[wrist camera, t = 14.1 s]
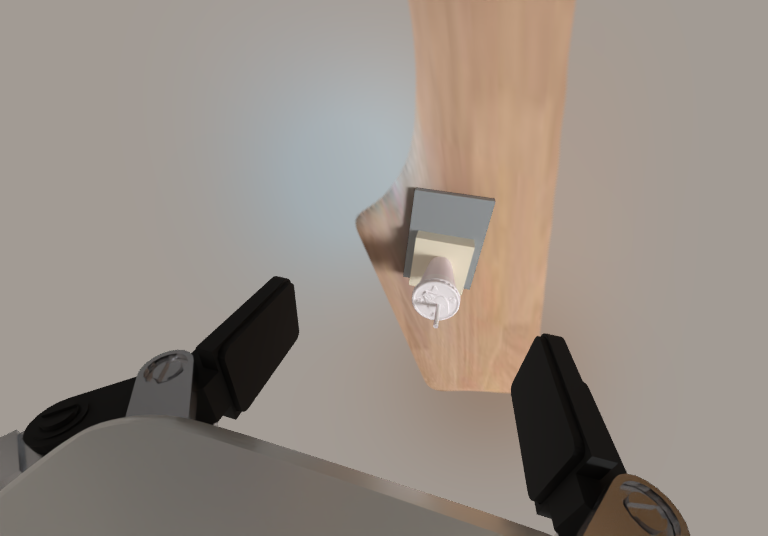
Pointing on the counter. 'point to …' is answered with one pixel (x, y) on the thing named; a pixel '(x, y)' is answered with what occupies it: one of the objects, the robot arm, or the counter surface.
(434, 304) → the smoothie
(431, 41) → the counter surface
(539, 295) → the counter surface
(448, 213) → the base board
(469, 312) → the counter surface
